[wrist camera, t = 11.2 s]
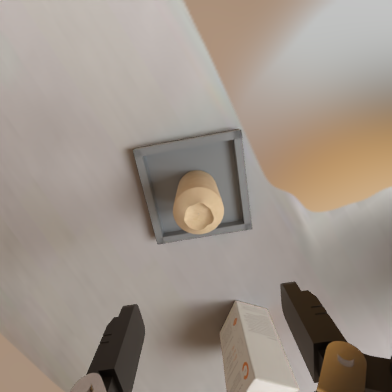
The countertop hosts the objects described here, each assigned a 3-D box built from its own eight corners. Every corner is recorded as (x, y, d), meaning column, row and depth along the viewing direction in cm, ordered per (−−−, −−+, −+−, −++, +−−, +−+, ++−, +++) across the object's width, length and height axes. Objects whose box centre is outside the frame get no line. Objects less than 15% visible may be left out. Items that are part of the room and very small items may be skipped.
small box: (250, 341, 43) (273, 429, 31) (218, 332, 43) (228, 420, 30) (268, 308, 41) (301, 390, 29) (235, 298, 40) (253, 378, 28)
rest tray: (238, 129, 31) (241, 129, 29) (249, 223, 36) (252, 229, 34) (136, 147, 32) (132, 149, 30) (159, 237, 36) (157, 244, 34)
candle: (184, 164, 32) (180, 184, 23) (221, 176, 33) (233, 200, 23) (173, 200, 34) (165, 233, 24) (209, 211, 34) (215, 246, 25)
